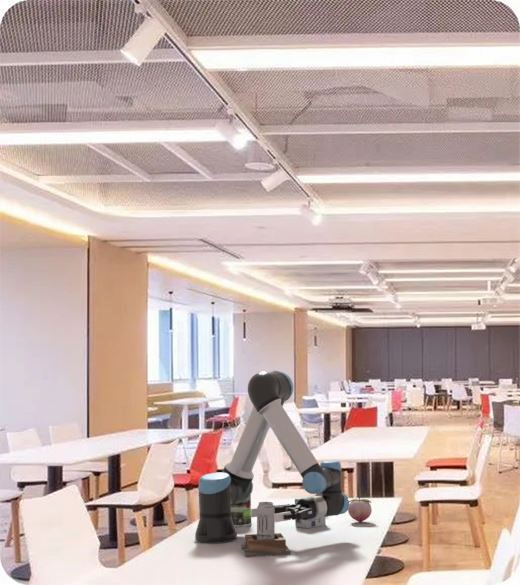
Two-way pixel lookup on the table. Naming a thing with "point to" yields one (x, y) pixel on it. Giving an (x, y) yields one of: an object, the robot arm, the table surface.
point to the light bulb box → (309, 522)
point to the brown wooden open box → (265, 546)
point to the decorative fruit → (359, 509)
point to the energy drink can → (265, 521)
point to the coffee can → (241, 513)
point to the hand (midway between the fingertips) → (262, 515)
